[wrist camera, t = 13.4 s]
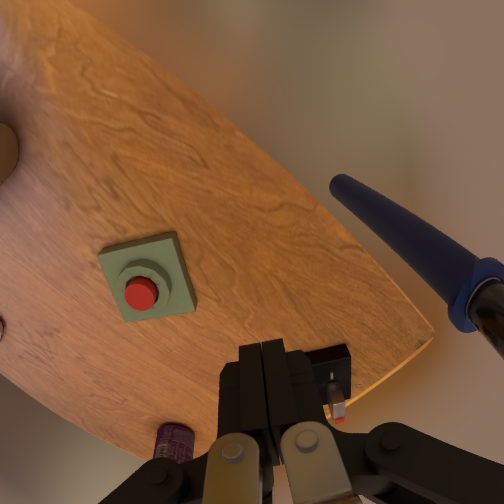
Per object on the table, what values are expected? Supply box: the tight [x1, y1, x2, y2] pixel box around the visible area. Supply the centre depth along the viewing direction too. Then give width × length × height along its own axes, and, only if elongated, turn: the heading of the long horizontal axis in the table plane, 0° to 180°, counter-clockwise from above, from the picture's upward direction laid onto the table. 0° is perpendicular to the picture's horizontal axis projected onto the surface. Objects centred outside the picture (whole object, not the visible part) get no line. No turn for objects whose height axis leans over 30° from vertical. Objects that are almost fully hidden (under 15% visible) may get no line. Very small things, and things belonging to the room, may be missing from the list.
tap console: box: [305, 344, 361, 405], centre depth 46 cm, size 12×12×3 cm
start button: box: [124, 277, 157, 311], centre depth 35 cm, size 4×4×2 cm
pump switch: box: [97, 232, 197, 323], centre depth 37 cm, size 10×10×4 cm
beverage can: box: [153, 425, 195, 464], centre depth 47 cm, size 7×7×12 cm
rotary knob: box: [327, 381, 345, 424], centre depth 43 cm, size 5×2×5 cm, turn 11°
